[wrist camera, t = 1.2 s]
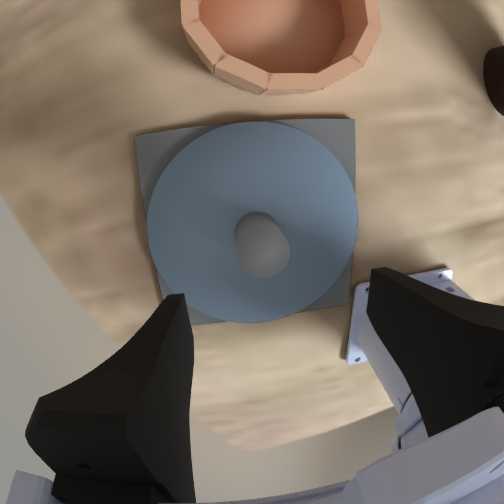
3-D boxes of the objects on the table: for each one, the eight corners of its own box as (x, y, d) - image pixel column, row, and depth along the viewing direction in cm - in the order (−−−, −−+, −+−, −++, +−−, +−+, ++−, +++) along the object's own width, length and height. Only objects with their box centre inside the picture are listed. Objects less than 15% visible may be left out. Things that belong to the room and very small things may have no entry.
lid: (354, 119, 17) (385, 120, 14) (348, 304, 23) (368, 334, 19) (133, 136, 16) (114, 140, 13) (169, 327, 21) (164, 363, 18)
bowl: (340, -36, 13) (364, -60, 10) (356, 96, 17) (387, 93, 14) (184, -39, 12) (179, -69, 9) (192, 101, 17) (186, 96, 13)
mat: (351, 119, 18) (354, 119, 17) (346, 300, 23) (348, 304, 22) (135, 135, 17) (133, 136, 16) (170, 323, 22) (169, 327, 21)
